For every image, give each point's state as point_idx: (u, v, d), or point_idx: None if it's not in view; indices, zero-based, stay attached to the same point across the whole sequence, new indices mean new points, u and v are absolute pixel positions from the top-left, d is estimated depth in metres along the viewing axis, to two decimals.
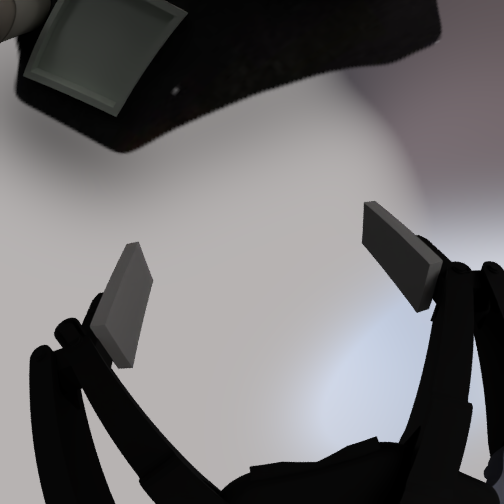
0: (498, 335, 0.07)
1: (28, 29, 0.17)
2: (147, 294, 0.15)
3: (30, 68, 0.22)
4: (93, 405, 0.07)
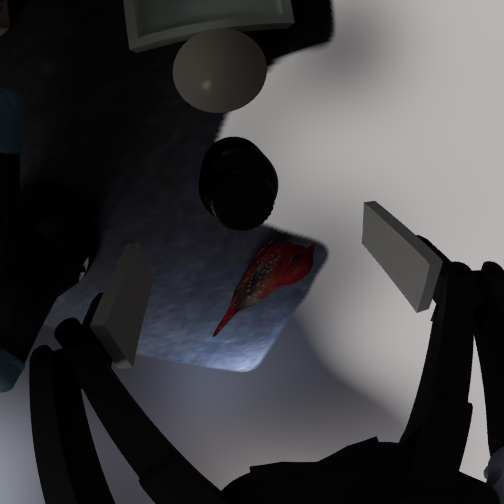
0: (498, 335, 0.07)
1: None
2: (147, 294, 0.15)
3: (279, 16, 0.20)
4: (93, 405, 0.07)
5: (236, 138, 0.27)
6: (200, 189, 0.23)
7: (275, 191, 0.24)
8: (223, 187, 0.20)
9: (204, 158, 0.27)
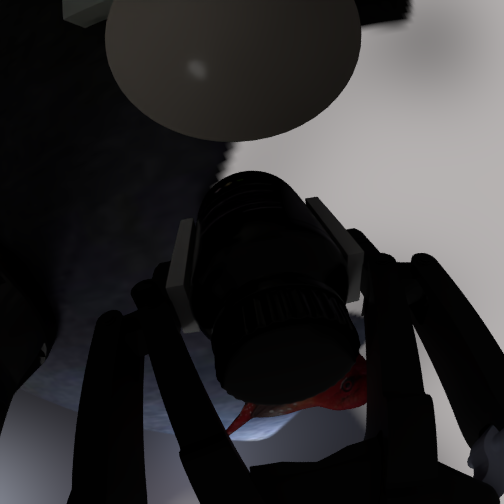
0: (445, 330, 0.08)
1: None
2: None
3: None
4: (154, 368, 0.08)
5: (259, 177, 0.15)
6: (192, 309, 0.11)
7: None
8: (248, 351, 0.08)
9: (200, 218, 0.15)
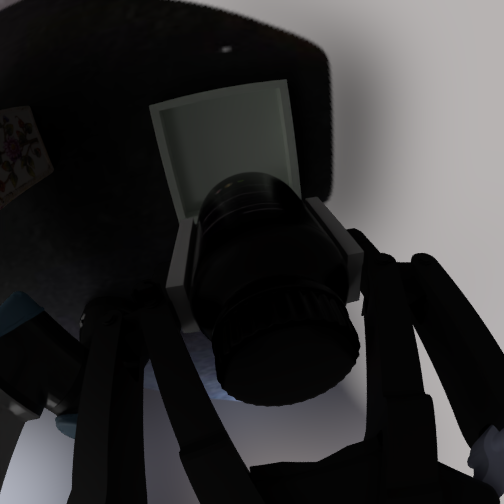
0: (445, 330, 0.08)
1: None
2: None
3: None
4: (154, 368, 0.08)
5: (259, 178, 0.15)
6: (193, 310, 0.11)
7: None
8: (248, 353, 0.08)
9: (200, 219, 0.15)
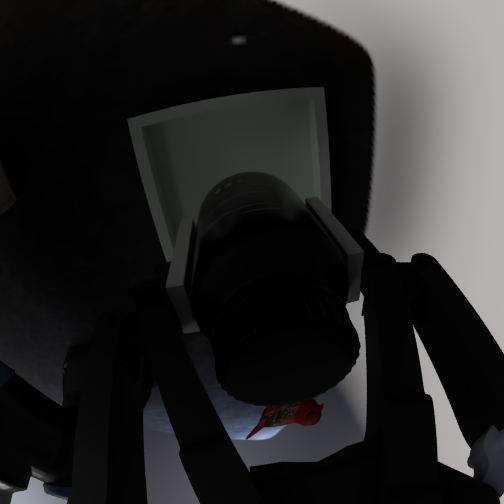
0: (445, 330, 0.08)
1: None
2: None
3: None
4: (154, 368, 0.08)
5: (259, 178, 0.15)
6: (193, 310, 0.11)
7: None
8: (248, 353, 0.08)
9: (200, 219, 0.15)
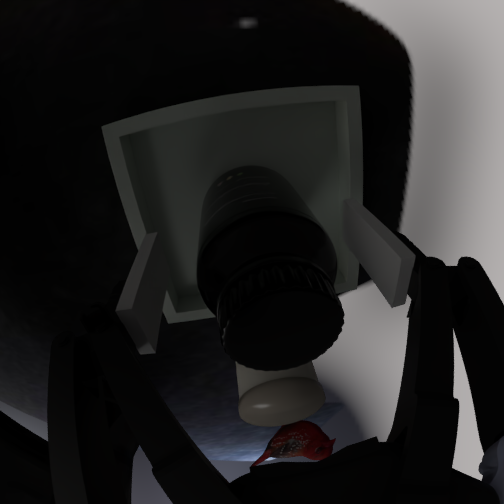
0: (480, 331, 0.07)
1: None
2: (166, 283, 0.16)
3: (342, 284, 0.23)
4: (113, 390, 0.07)
5: (257, 171, 0.17)
6: (200, 287, 0.13)
7: (333, 285, 0.13)
8: (247, 317, 0.10)
9: (204, 209, 0.16)
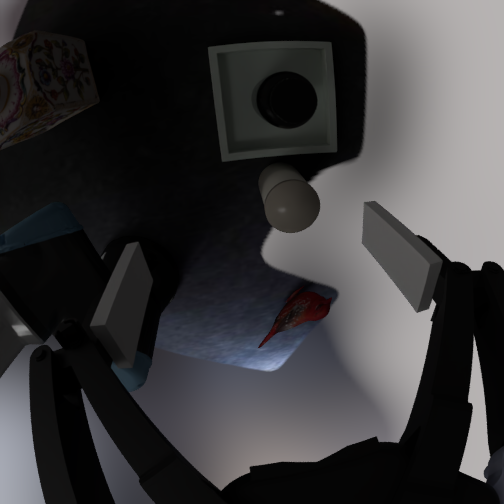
0: (498, 335, 0.07)
1: (294, 170, 0.39)
2: (147, 294, 0.15)
3: (327, 146, 0.37)
4: (93, 405, 0.07)
5: None
6: (258, 97, 0.27)
7: None
8: (281, 88, 0.24)
9: (256, 85, 0.31)
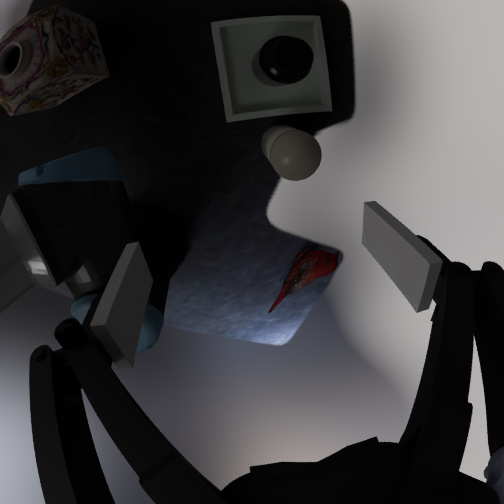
0: (498, 335, 0.07)
1: None
2: (147, 294, 0.15)
3: (323, 106, 0.38)
4: (93, 405, 0.07)
5: None
6: (260, 57, 0.28)
7: None
8: (281, 45, 0.25)
9: (256, 52, 0.32)
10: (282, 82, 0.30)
